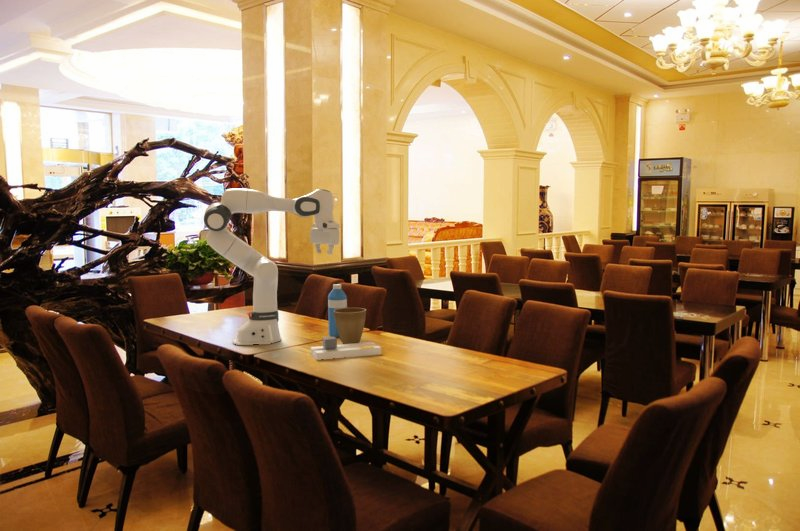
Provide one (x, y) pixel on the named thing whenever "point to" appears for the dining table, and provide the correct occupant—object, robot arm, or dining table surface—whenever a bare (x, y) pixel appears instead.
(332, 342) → the switch knob
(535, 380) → the dining table surface
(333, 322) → the water bottle
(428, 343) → the dining table surface
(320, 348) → the switch plate
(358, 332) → the plant pot
